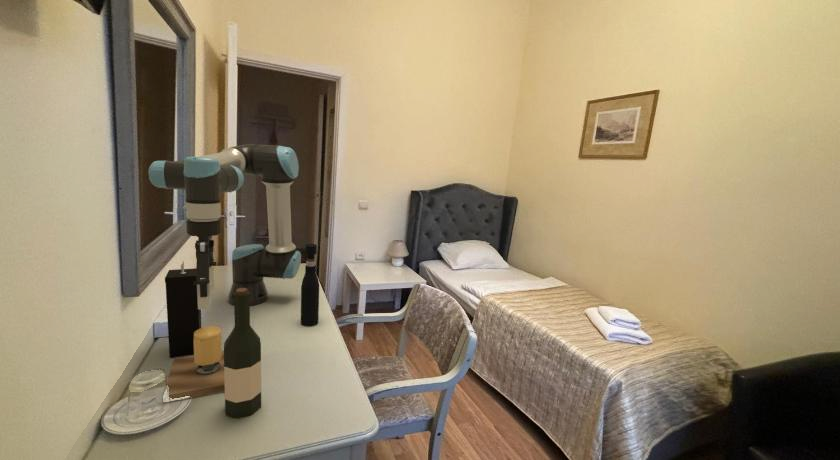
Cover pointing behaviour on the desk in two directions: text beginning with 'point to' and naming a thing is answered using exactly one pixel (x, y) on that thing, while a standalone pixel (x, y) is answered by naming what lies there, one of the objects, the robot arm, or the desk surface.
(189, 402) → the desk surface
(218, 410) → the desk surface
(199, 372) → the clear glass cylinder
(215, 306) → the desk surface
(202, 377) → the walnut board
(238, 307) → the labelled green bottle
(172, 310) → the black pillar candle
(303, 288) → the wine bottle
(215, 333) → the ochre cap
